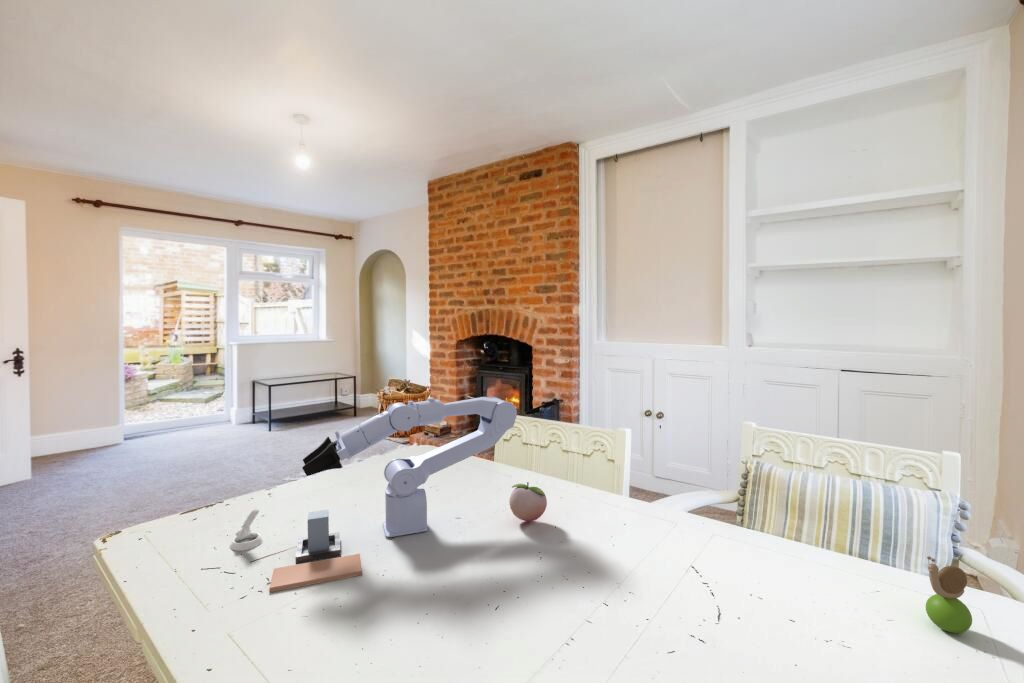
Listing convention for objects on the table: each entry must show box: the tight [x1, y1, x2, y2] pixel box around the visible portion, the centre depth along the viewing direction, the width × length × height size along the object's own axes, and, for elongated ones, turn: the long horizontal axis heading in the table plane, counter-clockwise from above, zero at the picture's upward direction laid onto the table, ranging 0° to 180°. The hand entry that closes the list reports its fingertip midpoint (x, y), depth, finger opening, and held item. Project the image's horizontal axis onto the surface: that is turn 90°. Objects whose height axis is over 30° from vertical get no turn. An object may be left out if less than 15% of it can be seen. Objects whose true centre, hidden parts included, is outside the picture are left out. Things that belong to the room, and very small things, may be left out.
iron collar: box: [295, 532, 341, 565], centre depth 99 cm, size 8×8×2 cm
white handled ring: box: [229, 507, 264, 551], centre depth 102 cm, size 6×10×6 cm
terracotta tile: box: [269, 553, 363, 593], centre depth 91 cm, size 16×7×1 cm, turn 111°
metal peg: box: [307, 509, 330, 553], centre depth 99 cm, size 4×4×8 cm
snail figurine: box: [925, 555, 973, 634], centre depth 74 cm, size 5×6×12 cm
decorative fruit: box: [509, 481, 548, 523], centre depth 113 cm, size 9×8×10 cm
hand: (304, 467), depth 100 cm, fingers open, 7 cm apart
